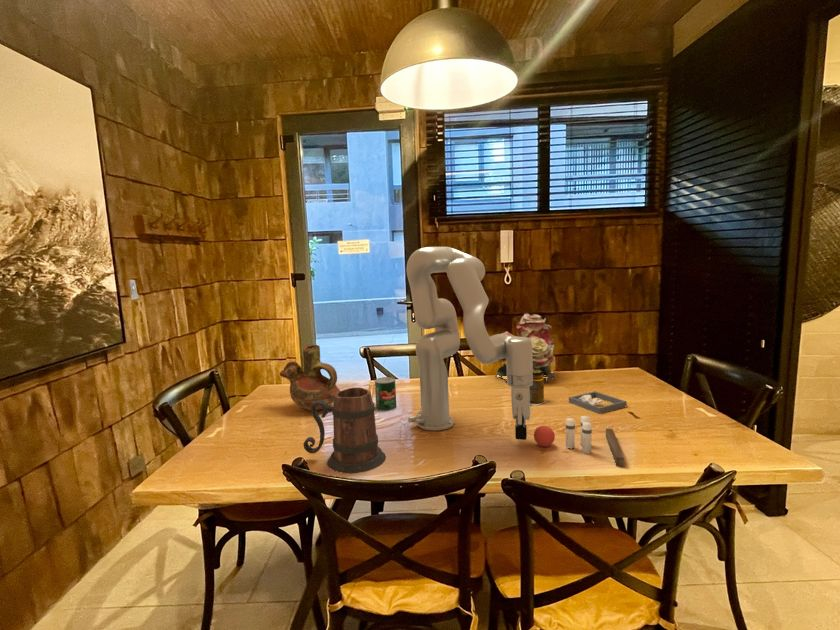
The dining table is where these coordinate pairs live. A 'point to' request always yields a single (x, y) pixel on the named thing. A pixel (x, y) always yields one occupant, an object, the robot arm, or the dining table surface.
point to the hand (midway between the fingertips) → (521, 438)
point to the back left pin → (583, 419)
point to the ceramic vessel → (311, 380)
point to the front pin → (570, 433)
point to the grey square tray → (617, 404)
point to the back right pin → (586, 437)
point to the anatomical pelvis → (590, 400)
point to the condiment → (537, 389)
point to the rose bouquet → (535, 344)
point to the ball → (544, 436)
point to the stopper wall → (615, 447)
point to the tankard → (350, 432)
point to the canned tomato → (385, 393)
